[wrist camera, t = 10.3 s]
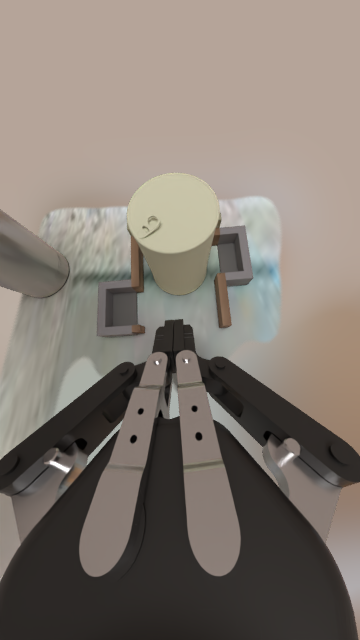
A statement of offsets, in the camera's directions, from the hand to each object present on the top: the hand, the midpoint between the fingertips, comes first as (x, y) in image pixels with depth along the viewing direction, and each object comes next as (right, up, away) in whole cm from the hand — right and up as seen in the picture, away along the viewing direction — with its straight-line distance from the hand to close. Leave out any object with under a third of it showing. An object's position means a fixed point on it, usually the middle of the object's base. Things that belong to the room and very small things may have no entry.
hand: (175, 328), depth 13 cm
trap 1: (+9, +11, +13) cm, 19 cm away
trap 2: (-9, +2, +12) cm, 15 cm away
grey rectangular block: (0, +9, +13) cm, 16 cm away
